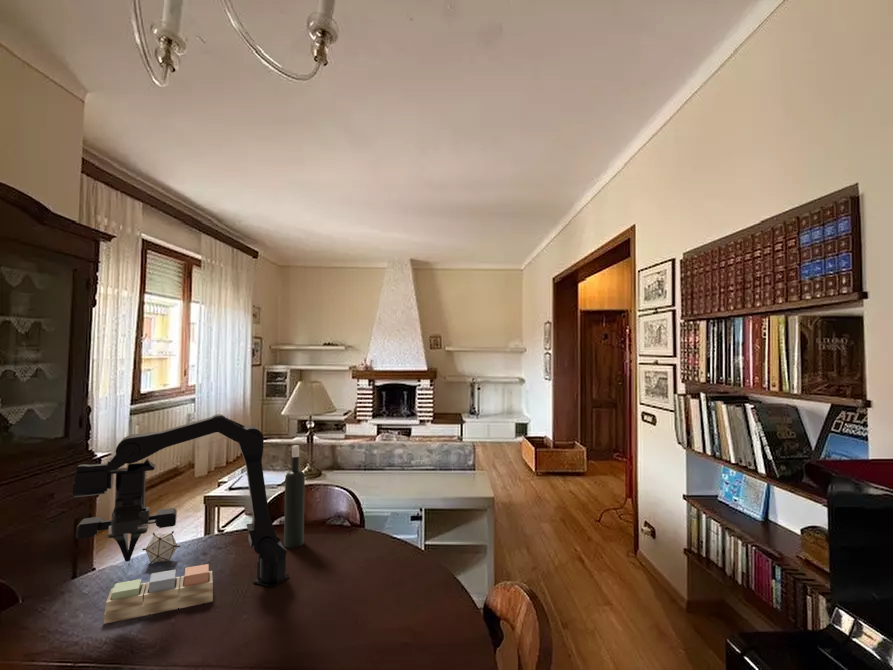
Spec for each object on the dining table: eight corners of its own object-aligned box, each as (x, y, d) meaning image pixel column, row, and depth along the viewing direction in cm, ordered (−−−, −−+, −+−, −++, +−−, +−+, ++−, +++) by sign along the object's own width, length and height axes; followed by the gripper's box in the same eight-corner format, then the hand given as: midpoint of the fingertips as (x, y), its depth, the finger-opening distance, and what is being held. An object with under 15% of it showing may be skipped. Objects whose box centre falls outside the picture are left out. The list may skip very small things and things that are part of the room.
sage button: (140, 592, 111) (141, 578, 111) (138, 601, 107) (138, 588, 107) (115, 596, 109) (115, 583, 109) (111, 607, 105) (111, 593, 105)
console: (212, 585, 120) (212, 568, 120) (212, 601, 112) (213, 584, 112) (111, 604, 110) (111, 586, 110) (103, 623, 102) (104, 604, 102)
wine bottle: (284, 541, 148) (286, 444, 150) (304, 540, 150) (305, 443, 151) (283, 548, 143) (285, 447, 144) (303, 547, 144) (304, 446, 145)
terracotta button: (208, 576, 118) (208, 563, 118) (208, 584, 113) (208, 572, 113) (185, 580, 115) (185, 567, 115) (184, 589, 111) (184, 576, 111)
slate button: (175, 582, 114) (175, 569, 115) (174, 591, 110) (174, 578, 110) (151, 586, 112) (151, 573, 112) (148, 596, 108) (149, 582, 108)
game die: (162, 578, 131) (157, 557, 126) (138, 564, 133) (132, 543, 128) (188, 551, 139) (185, 531, 133) (165, 538, 140) (161, 518, 135)
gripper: (70, 506, 98) (67, 584, 97) (175, 495, 106) (172, 566, 105) (83, 492, 108) (80, 563, 107) (177, 483, 116) (175, 548, 115)
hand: (127, 560), depth 108 cm, fingers closed
